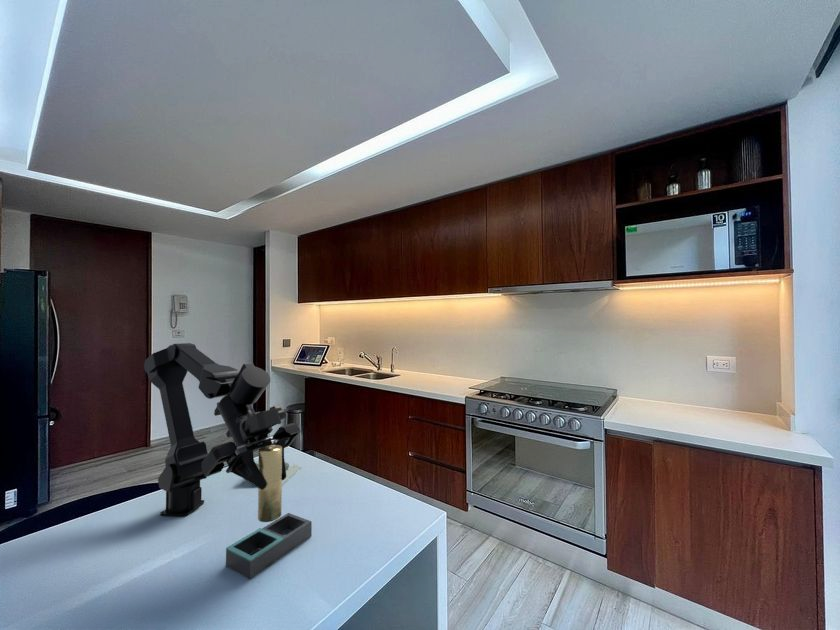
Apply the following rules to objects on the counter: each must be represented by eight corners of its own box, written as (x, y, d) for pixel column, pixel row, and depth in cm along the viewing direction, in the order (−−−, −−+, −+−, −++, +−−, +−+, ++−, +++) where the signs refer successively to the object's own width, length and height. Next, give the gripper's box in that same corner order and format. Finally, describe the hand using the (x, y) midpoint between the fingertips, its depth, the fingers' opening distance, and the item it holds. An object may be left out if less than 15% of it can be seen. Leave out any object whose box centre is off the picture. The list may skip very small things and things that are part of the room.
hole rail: (250, 579, 59) (250, 560, 59) (225, 566, 63) (226, 547, 63) (311, 536, 72) (311, 519, 72) (288, 526, 75) (288, 511, 75)
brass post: (253, 520, 65) (253, 451, 66) (267, 509, 69) (267, 444, 70) (272, 523, 64) (273, 453, 65) (285, 511, 68) (286, 445, 69)
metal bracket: (234, 468, 93) (265, 448, 108) (228, 488, 93) (260, 466, 108) (282, 485, 91) (307, 463, 106) (276, 506, 91) (301, 481, 106)
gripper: (211, 403, 61) (248, 478, 55) (295, 386, 78) (331, 444, 72) (187, 440, 65) (219, 515, 59) (272, 417, 81) (304, 474, 75)
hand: (274, 483), depth 66 cm, fingers closed on brass post, 4 cm apart
